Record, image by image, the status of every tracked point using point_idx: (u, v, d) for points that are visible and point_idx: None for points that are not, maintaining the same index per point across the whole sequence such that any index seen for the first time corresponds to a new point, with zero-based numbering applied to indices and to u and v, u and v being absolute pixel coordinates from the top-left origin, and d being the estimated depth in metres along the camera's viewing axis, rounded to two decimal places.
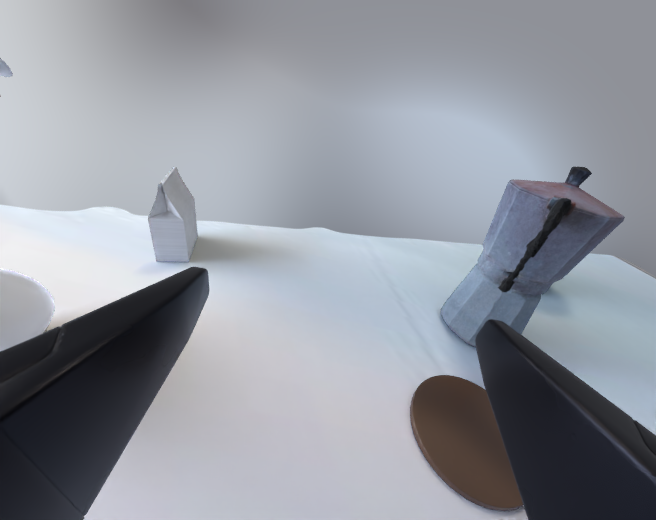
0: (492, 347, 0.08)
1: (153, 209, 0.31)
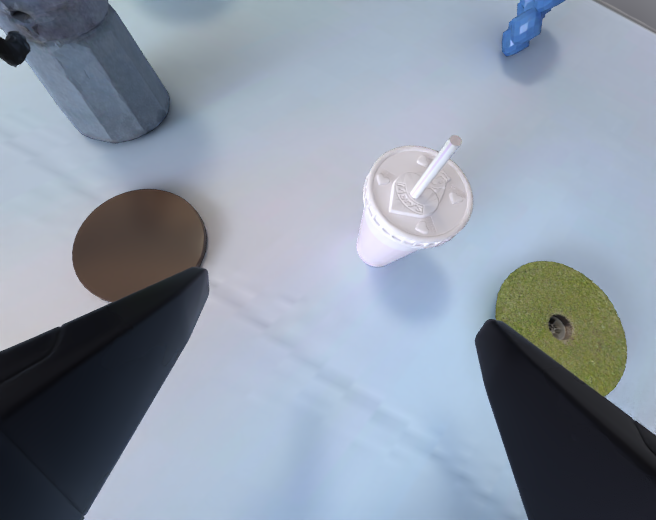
0: (492, 347, 0.08)
1: None
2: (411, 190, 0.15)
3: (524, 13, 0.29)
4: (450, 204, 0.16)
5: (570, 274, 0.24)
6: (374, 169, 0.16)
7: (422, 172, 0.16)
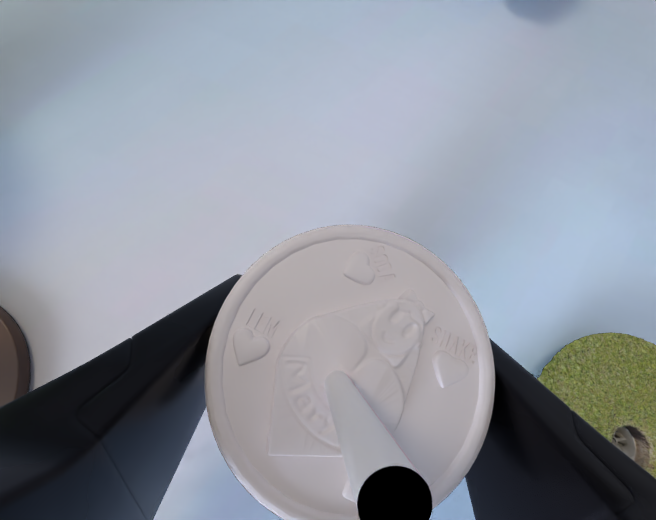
0: None
1: None
2: (325, 381, 0.05)
3: None
4: (436, 391, 0.06)
5: (639, 351, 0.15)
6: (224, 320, 0.06)
7: (357, 307, 0.06)
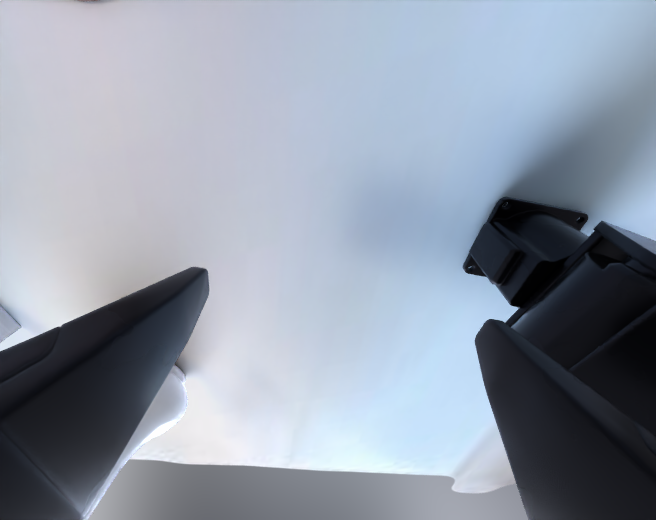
0: (492, 347, 0.08)
1: None
2: None
3: None
4: None
5: None
6: None
7: None
